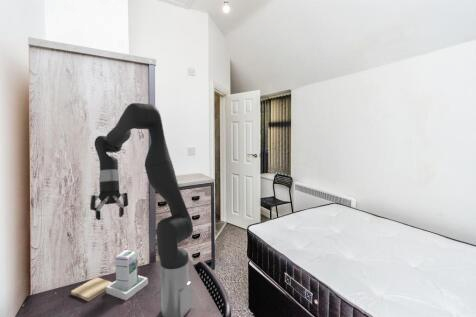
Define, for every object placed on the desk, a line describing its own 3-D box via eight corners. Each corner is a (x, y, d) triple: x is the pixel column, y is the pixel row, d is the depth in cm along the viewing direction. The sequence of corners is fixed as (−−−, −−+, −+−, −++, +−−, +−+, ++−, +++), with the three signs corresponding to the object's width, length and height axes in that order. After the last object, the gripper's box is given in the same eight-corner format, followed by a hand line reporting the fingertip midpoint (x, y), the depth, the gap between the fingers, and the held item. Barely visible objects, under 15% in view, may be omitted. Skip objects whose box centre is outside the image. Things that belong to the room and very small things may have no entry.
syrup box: (129, 294, 87) (128, 257, 86) (116, 292, 88) (114, 256, 87) (138, 284, 92) (137, 250, 91) (126, 283, 93) (125, 249, 92)
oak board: (113, 285, 92) (113, 282, 92) (88, 301, 83) (88, 298, 82) (96, 279, 96) (96, 276, 96) (71, 294, 86) (71, 291, 86)
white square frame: (148, 283, 93) (147, 278, 93) (126, 300, 83) (126, 294, 83) (129, 277, 97) (128, 272, 97) (106, 293, 87) (106, 286, 87)
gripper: (92, 180, 91) (93, 221, 89) (129, 179, 102) (130, 215, 99) (88, 182, 97) (88, 221, 94) (123, 180, 107) (124, 215, 105)
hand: (110, 218), depth 97 cm, fingers open, 8 cm apart
